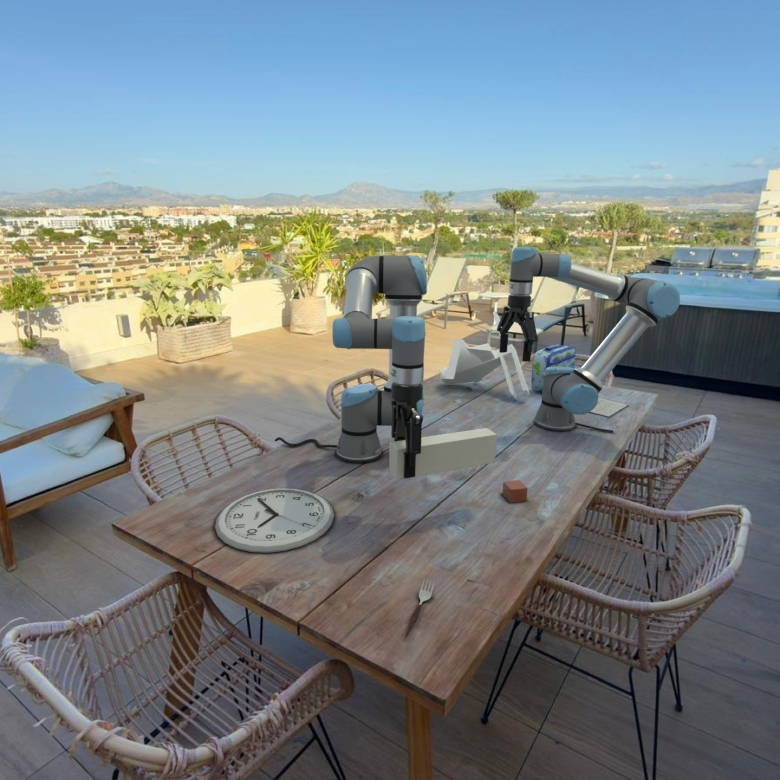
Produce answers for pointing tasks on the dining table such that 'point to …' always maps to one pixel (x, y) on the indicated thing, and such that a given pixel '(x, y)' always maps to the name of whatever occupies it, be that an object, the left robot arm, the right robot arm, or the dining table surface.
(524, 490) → the terracotta block
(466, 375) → the white plastic object
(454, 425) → the dining table surface
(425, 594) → the fork
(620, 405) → the invitation card
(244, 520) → the wall clock
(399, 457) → the beam
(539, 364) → the lunch box
